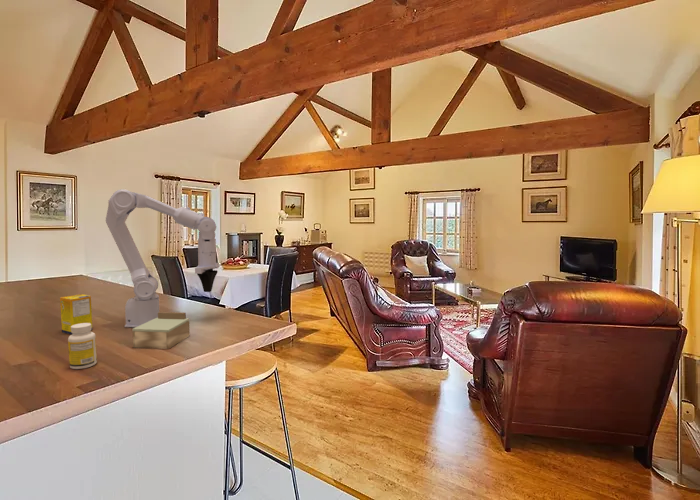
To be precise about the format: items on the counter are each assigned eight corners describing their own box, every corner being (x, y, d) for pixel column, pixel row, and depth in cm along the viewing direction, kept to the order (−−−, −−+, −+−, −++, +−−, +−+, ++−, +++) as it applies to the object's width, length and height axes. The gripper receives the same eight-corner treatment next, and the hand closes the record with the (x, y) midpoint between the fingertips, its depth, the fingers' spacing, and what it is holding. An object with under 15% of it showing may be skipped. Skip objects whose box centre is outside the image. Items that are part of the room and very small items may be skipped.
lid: (132, 331, 105) (132, 322, 105) (156, 319, 117) (156, 311, 117) (168, 332, 104) (168, 323, 104) (189, 320, 116) (189, 312, 116)
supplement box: (81, 327, 124) (80, 293, 123) (93, 330, 121) (91, 295, 120) (61, 332, 118) (59, 296, 117) (72, 335, 116) (70, 299, 115)
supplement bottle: (78, 361, 95) (76, 322, 94) (101, 360, 95) (100, 321, 95) (63, 369, 90) (61, 328, 89) (88, 369, 90) (86, 328, 89)
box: (132, 347, 105) (132, 331, 105) (157, 334, 117) (156, 319, 117) (168, 348, 105) (168, 332, 104) (189, 335, 117) (189, 320, 116)
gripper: (209, 254, 125) (210, 296, 126) (226, 250, 140) (226, 288, 141) (188, 254, 126) (189, 295, 127) (207, 250, 140) (207, 287, 141)
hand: (207, 291), depth 134 cm, fingers closed
